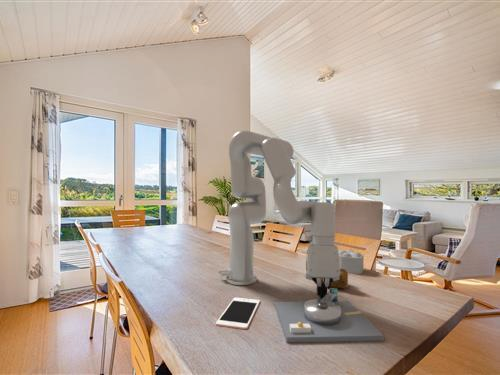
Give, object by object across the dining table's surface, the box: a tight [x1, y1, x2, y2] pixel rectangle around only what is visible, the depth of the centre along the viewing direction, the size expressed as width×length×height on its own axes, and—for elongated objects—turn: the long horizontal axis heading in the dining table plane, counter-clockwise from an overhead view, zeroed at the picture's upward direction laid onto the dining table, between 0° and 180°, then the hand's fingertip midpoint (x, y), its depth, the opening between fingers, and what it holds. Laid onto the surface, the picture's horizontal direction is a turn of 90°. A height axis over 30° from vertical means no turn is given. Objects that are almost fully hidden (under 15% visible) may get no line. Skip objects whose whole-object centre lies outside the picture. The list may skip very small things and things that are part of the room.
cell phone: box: [215, 297, 261, 330], centre depth 78 cm, size 9×18×1 cm, turn 167°
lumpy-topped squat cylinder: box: [338, 249, 364, 275], centre depth 122 cm, size 10×13×9 cm
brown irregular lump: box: [320, 268, 349, 290], centre depth 102 cm, size 13×10×8 cm
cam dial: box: [304, 287, 341, 325], centre depth 76 cm, size 17×10×4 cm, turn 146°
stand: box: [274, 300, 385, 343], centre depth 73 cm, size 24×20×3 cm
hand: (321, 297), depth 84 cm, fingers closed
